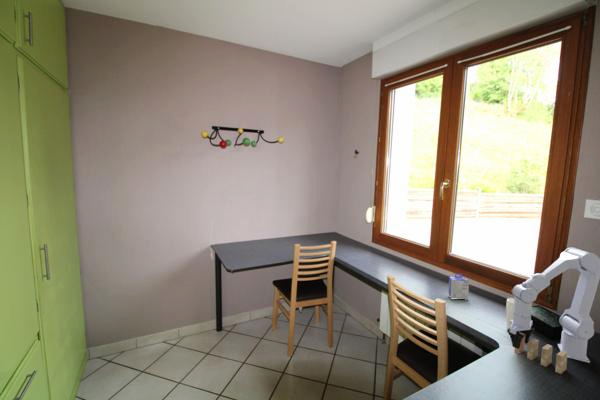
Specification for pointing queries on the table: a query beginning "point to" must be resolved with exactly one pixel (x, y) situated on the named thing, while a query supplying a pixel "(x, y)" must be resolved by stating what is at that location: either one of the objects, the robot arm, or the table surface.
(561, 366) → the domino
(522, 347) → the salmon orange block
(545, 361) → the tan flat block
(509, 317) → the drinking glass
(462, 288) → the ink cartridge box
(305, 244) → the table surface
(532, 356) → the domino
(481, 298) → the table surface
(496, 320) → the table surface
